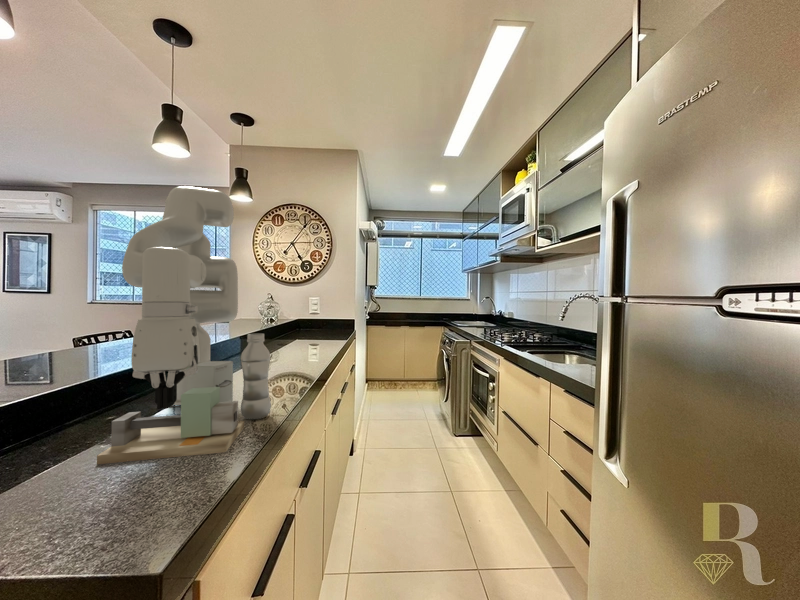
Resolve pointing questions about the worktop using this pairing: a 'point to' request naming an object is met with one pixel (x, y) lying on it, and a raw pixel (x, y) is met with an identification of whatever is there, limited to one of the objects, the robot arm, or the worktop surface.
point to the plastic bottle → (255, 378)
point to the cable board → (169, 436)
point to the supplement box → (214, 378)
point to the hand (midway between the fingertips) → (166, 406)
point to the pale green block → (198, 411)
